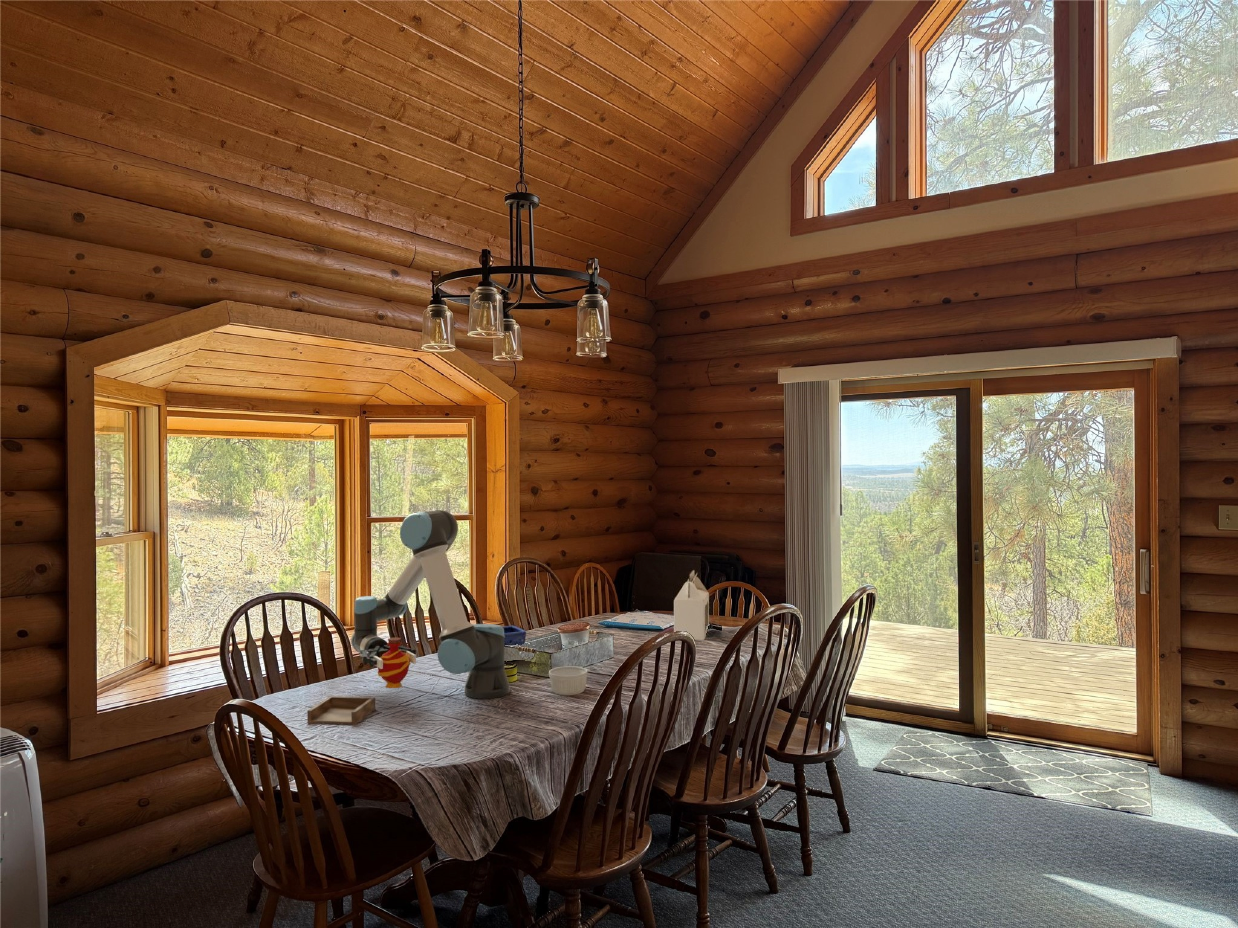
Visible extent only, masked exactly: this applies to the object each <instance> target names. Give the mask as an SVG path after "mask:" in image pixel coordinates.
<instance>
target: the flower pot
mask: <svg viewBox="0 0 1238 928" xmlns="http://www.w3.org/2000/svg"><path fill="white" fill-rule="evenodd" d="M502 627H503V629H504V636H505V638H504V647H505V645H516V644H518V645H522V644H524V645H525V643H526V639H527V638H526V637H527V632H526V630H524V629H522V628H520V627H518V626H516V625H505V626H502Z"/></svg>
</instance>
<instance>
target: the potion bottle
mask: <svg viewBox="0 0 1238 928" xmlns="http://www.w3.org/2000/svg"><path fill="white" fill-rule="evenodd" d="M401 639H402V638H401V637H389V638H387V643H388V644H387V646H389V647H390V650H389V651H388V652H386V653H385V654H383V655H382V657H380V659H382V660H383V669H380V668H378V667H377V670H378V671H377V675H378V677H381V678H382V680H383V681H385V682H386V685H385V688H386V689H399V688H402V686H403V684H402V682H403V680H404V679H405V678H406V676H407V675H408V673H409V669H410V666H411V662H410V659H409V657H408V655H407V654H406V653H403V652H402V651H401V650H400V649H399V646H400V645H401V644H402V642H401ZM401 646H402V645H401Z"/></svg>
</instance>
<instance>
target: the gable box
mask: <svg viewBox="0 0 1238 928" xmlns="http://www.w3.org/2000/svg"><path fill="white" fill-rule="evenodd" d="M697 575H698V573H696V574H695V569H693V570H692V571H691V572H689V575H688V579H687V581H685V583H683V585H682V588H681V589H680V590H679V592H678V593H677V595H676V596H675V597H674V599H673V633H674V632H676V631H687V632H688V633H690V634H691V635H692V636H693V637H694V639H695V640H694V641H704V640H705V639H706V637H707V635H706V633H707V629H708V626H709V627H710V620H709V619H710V614H709V613H710V612H709V611H710V610H709V609H710V605H709V604H710V602H709V600H710V597H709V596H710V592H708V591H709V590H707V588H706V586H705V585H704V584H703V583H702V581H701V579H700V578H699V577H698V576H697ZM705 624H707V626H706V628H705ZM707 634H708V633H707Z"/></svg>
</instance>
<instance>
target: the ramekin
mask: <svg viewBox="0 0 1238 928" xmlns="http://www.w3.org/2000/svg"><path fill="white" fill-rule="evenodd" d="M587 676H588V669H587V668H585V667H582V666H573V665H571V666H570V665H564V666H558V667H554V668H552V669H550V670H549V671H548V677H549V683H550V689H551V690H552V691H551V692H553V693H554V694H556V695H560V696H573V695H574V696H575V695H579V694H582V693H583V692H584V691H585V690H586V686H587V678H588V677H587Z"/></svg>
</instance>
